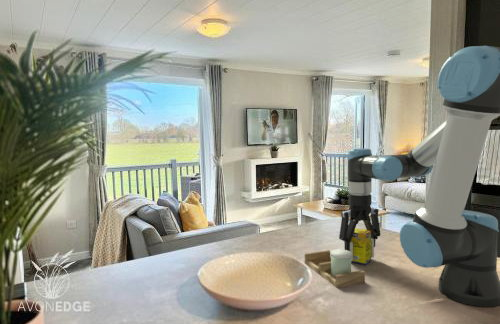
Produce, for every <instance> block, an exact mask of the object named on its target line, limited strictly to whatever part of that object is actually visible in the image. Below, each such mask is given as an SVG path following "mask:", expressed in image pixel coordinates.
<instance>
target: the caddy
mask: <svg viewBox="0 0 500 324" xmlns="http://www.w3.org/2000/svg"><path fill="white" fill-rule="evenodd" d="M304 264H305V265H306V266H307V267H308V268H310V269H311V270H313V271H315V273H317V274H318V275H319V276H321V277H322V278H323V279H325V280H326V281H327V282H328V283H330V284H331V285H332V286H334V287H335V288H337V289H341V288H344V287H345V288H346V287H350V286H355V285H360V284H365V283H366V282H365V280H366V275H365V274H366V272H365V271H364V270H358V271H355V270H353V269H351V273H345V274H340V275H335V279H334V278H333V277H332V276H331V250H329V249H327V250H320V251H314V252H306V253H304Z"/></svg>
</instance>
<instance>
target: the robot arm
mask: <svg viewBox="0 0 500 324" xmlns="http://www.w3.org/2000/svg"><path fill="white" fill-rule="evenodd" d="M437 76H438V77H437V88H438V90H439V94H440V95H441V96H442V98H443V103H442V107H443V108H444V110H445V112H446V113H447V117H446V120H444V122H442V123H441V124H440V125H438V127H436V128H435V129H434V130H433V131H432V132H430V134H427V136H426V137H425V138H424V139H423V140H421V142H419V143H418V144H417V145H416V146H415V147H413V148H412V149H411V150H410V151H409V152H408V153H406V154H405V153H404V154H388V155H386V154H384V155H373V153H372V149H371V148H350V149H349V150H348V158H347V165H348V166H347V167H348V168H347V169H348V173H347V175H348V193H349V194H348V205H349V208H348V210H345V211H344V210H342V211H341V212H340V215H341V221H340V223H341V224H340V229H339V235H338V236H339V237H338V239H339V240H341V241H342V242H343V243H344V250H348V251H350V252H351V253H352V256H351V261H353V242H351V239H352V236H353V233H354V230H355V228H357V225H358V224H359V222H361V221H363V224H364V226H365V230H370V231H371V259H373V258H374V257H375V248H376V240H378V238H379V237H380V236H381V228H380V220H379V209H378V208H375V207H371V205H372V203H373V202H372V201H373V200H372V192H373V191H372V190H373V189H372V188H373V187H372V181H373V180H372V179H374V180H380V181H383V182H386V181H389V182H393V181H395V180H397V179H405V178H421V177H425V176H428V175H429V174H430V173H431V172H432V173H431V176H430V181H429V185H428V189H427V192H426V196H425V200H424V204H423V205H421V206H418V207H417V208H416V209H415V213H414V216H413V220H412V221H408V222H407V223H405V224H404V225H402V226H401V227H400V230H399V243H400V246H401V248H402V249H403V253H404V254H405V255H406V257H407V258H408V260H410V262H412V263H413V264H415V265H416V266H418V267H420V268H424V269H425V268H426V269H428V268H438V267H441V266H444V267H443V268H442V271H441V273H440V276H439V278H438V286H437V287H438V288H437V289H438V290H439V292H440V293H441V294H442V295H443V296H446V297H447V298H449V299H450V300H452V301H453V300H454V301H455V302H458V303H462V304H464V305H468V306H474V307H483V308H490V307H491V308H493V307H499V306H500V278H499V275H498V271H497V268H498V267H497V266H498V265H497V264H498V262H497V261H498V245H499V244H498V243H499V241H498V240H499V232H500V230H499V221H498V219H497V218H496V217H495V216H494V215H491V214H488V213H484V212H480V211H473V210H467V209H465V208H466V204H467V201H468V199H469V195H470V191H471V189H472V185H473V182H474V178H475V175H476V172H477V169H478V166H479V162H480V159H481V156H482V152H483V149H484V146H485V143H486V141H487V137H488V133H489V130H490V127H491V123H492V121H493V120H495V119H497V118H498V117H500V47H497V46H491V45H490V46H488V45H480V46H479V45H478V46H477V45H475V46H472V45H471V46H467V47H464V48H461V49H459V50H457V51H456V52H454V53H453V54H452V55H451V56H449V57H448V58H447V59H446V60H445V62H444V63H443V64H442V66H441V68H440V71H439V72H438V75H437Z"/></svg>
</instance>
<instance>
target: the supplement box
mask: <svg viewBox="0 0 500 324" xmlns="http://www.w3.org/2000/svg"><path fill="white" fill-rule="evenodd" d="M351 242H353V261H351V264H355V265H356V264H357V265H361V266H367V265H368V264H369V263H370V262H371V261H372V258H371V231H370V230H367V229H366V228H364V229H362V228H358V227H356V228H355V230H354V233H353V236H352V239H351Z"/></svg>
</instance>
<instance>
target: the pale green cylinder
mask: <svg viewBox="0 0 500 324" xmlns="http://www.w3.org/2000/svg"><path fill="white" fill-rule="evenodd" d="M351 256H352V253H351V252H350V251H348V250H345V249H343V248H336V249H332V250H330V257H331V276H332V277H333V278H334V279H335V275H340V274H345V273H351V270H352V263H351Z"/></svg>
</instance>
